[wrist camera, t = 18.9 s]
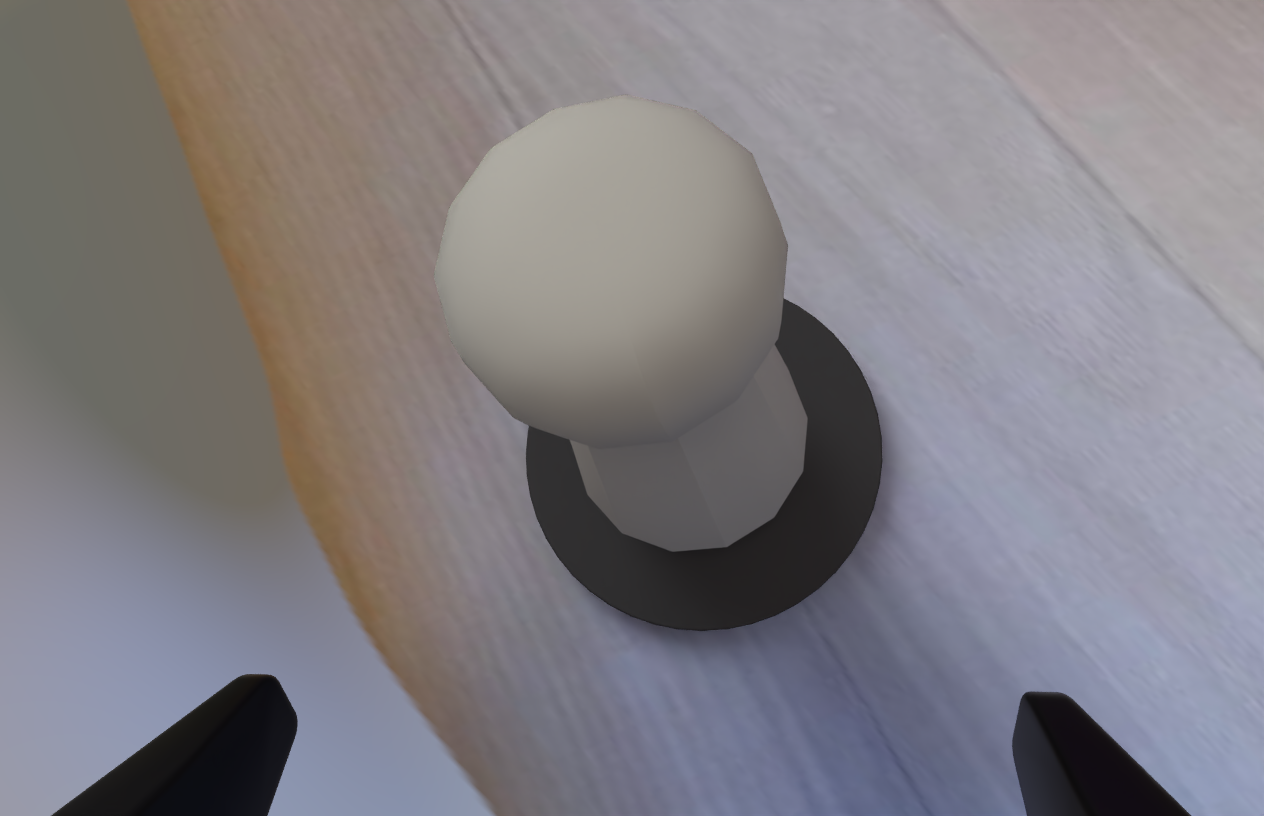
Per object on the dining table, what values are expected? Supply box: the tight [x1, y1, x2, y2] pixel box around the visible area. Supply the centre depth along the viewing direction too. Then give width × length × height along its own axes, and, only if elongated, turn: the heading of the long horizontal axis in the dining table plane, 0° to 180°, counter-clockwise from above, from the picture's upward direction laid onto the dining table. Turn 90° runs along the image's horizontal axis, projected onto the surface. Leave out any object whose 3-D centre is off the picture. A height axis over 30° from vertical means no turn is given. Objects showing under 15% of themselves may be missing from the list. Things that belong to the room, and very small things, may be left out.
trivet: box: [526, 298, 882, 631], centre depth 21 cm, size 10×10×1 cm
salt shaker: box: [434, 95, 808, 552], centre depth 14 cm, size 6×6×13 cm
